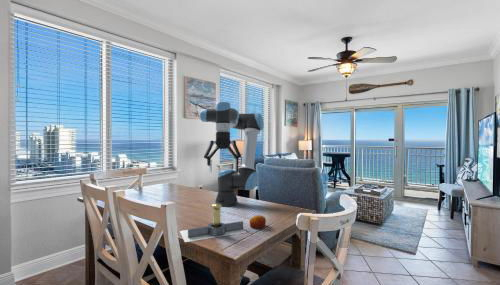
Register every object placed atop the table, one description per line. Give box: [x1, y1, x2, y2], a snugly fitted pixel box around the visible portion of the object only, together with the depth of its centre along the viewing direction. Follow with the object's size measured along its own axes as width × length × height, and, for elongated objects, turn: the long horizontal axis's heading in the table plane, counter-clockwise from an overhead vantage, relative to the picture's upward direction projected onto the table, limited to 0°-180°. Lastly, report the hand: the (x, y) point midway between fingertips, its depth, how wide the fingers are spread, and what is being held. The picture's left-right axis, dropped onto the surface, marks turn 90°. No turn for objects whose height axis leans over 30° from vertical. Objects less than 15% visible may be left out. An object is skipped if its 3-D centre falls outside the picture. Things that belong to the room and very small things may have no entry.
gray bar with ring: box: [187, 221, 244, 238], centre depth 116 cm, size 8×26×4 cm, turn 115°
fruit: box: [249, 214, 267, 230], centre depth 125 cm, size 8×8×8 cm
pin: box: [211, 203, 223, 227], centre depth 116 cm, size 4×4×13 cm
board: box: [179, 229, 247, 243], centre depth 118 cm, size 14×28×1 cm, turn 115°
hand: (222, 171), depth 136 cm, fingers open, 13 cm apart
